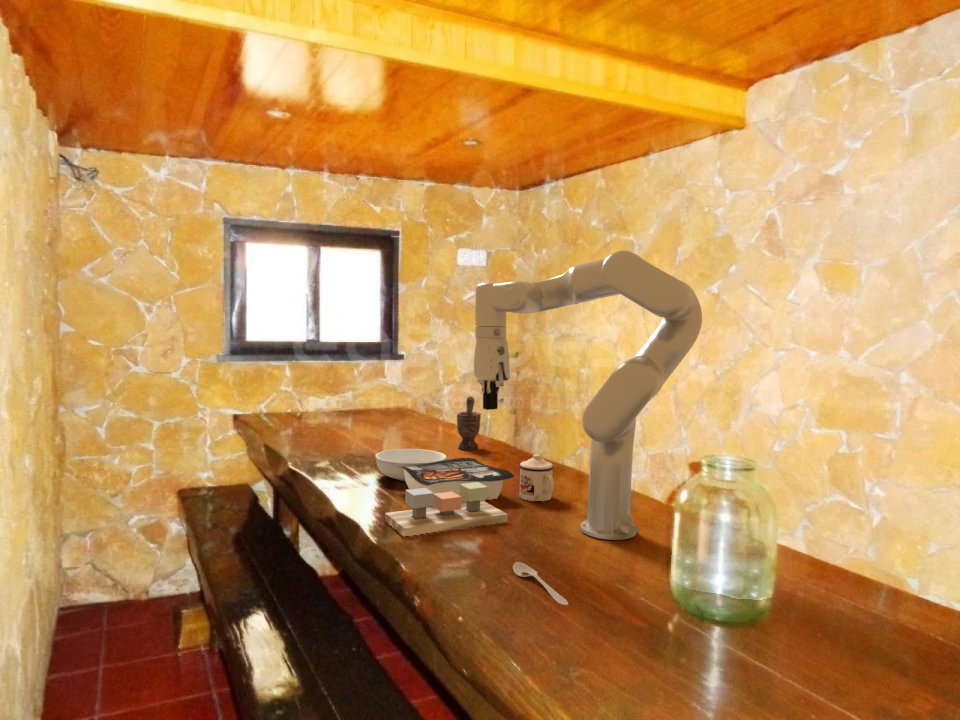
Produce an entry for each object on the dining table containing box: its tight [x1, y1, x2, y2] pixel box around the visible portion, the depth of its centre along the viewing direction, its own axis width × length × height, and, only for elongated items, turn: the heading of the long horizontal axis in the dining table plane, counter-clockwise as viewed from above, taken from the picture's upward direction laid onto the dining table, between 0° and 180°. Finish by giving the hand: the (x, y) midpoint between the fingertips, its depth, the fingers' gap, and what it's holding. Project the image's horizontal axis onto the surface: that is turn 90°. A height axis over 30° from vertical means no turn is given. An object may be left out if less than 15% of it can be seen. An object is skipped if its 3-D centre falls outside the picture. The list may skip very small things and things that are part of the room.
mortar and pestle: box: [456, 396, 482, 451], centre depth 237 cm, size 12×9×20 cm
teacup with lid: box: [519, 453, 555, 502], centre depth 175 cm, size 12×9×12 cm
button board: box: [384, 500, 508, 538], centre depth 154 cm, size 12×26×2 cm, turn 118°
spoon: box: [512, 561, 569, 606], centre depth 118 cm, size 4×21×2 cm, turn 26°
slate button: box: [404, 488, 434, 518], centre depth 150 cm, size 5×5×6 cm
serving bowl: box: [374, 448, 447, 482], centre depth 194 cm, size 21×21×7 cm
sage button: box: [460, 482, 488, 511], centre depth 157 cm, size 5×5×6 cm
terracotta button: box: [432, 492, 462, 516], centre depth 154 cm, size 5×5×6 cm
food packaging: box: [398, 457, 515, 504], centre depth 177 cm, size 25×8×23 cm
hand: (490, 408), depth 160 cm, fingers closed
